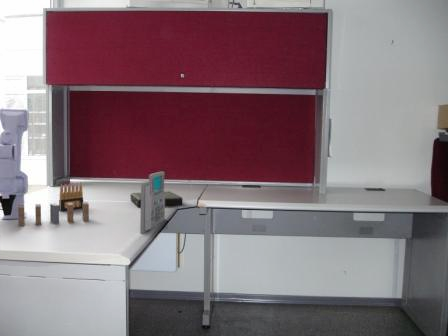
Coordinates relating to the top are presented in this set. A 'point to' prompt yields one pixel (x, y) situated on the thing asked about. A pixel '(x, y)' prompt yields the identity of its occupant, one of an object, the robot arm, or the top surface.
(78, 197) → the ammunition clip
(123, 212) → the top surface
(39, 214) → the walnut domino
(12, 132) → the robot arm
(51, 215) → the charcoal domino
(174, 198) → the network switch
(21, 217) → the walnut domino
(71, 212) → the walnut domino
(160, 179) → the office telephone
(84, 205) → the walnut domino
